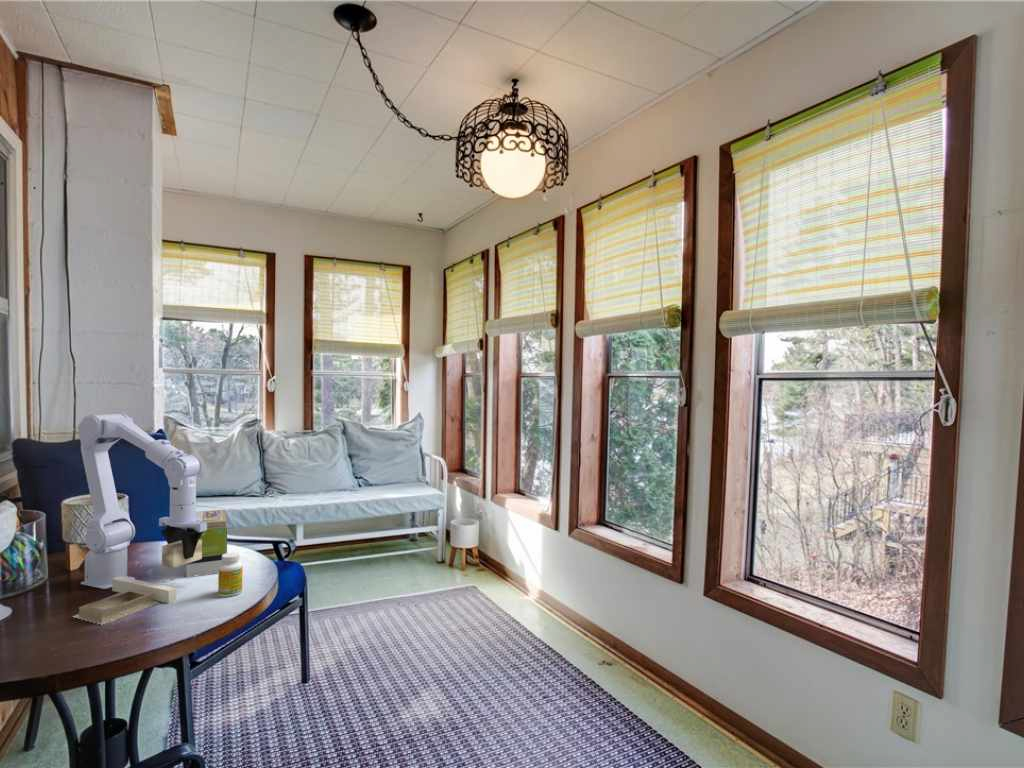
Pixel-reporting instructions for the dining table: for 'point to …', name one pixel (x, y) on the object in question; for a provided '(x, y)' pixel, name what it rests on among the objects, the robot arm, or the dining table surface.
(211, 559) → the tea box
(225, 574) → the supplement bottle
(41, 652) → the dining table surface
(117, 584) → the board
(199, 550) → the bar
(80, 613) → the keeper
